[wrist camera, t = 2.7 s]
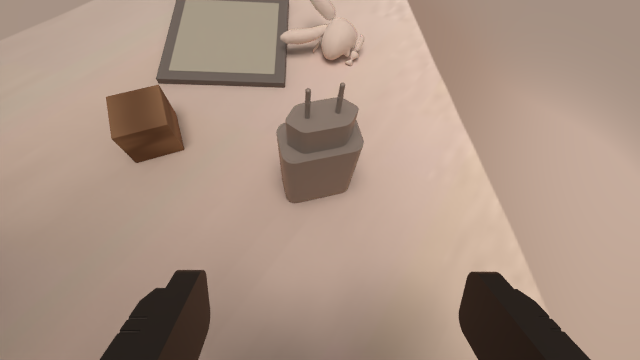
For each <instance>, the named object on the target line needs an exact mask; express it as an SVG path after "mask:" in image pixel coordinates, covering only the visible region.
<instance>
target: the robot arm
mask: <svg viewBox="0 0 640 360" xmlns="http://www.w3.org/2000/svg"><path fill="white" fill-rule="evenodd" d="M459 322H460V327H461V330H462V332H463V334H464V336H465V337H466V339H467V341H468V343H469V344H470V346H471V348H472V350H473V351H474V353H475V355H476V357H477V358H478V360H590V359H589V358H588V357H587V355H586V354H585V353H584V352H583V351H582V350H581V349H580V348H579V347H578V346H577V345H576V344H575V343H574V342H573V341H572V340H571V339H570V337H569V336H568V335H567V334H566V333H565V332H562V331H561V328H560V327H559V326H558V325H557V324H556V323H555V322H554V321H553V320H552V319H550V318H549V315H548V314H547V313H546V312H545V311H544V310H543V309H542V308H541V307H540V306H539V305H538V304H537V303H536V302H535V301H534V300H532V299H531V298H530V297H528V296H527V295H525V294H524V293H522V292H521V291H519V290H518V289H513V287H512V286H511V285H510V284H509V283H508V282H507V281H506V280H505V279H504V277H503V276H502V275H501V274H499V273H498V272H471V273H469V275H468V277H467V280H466V284H465V288H464V293H463V297H462V301H461V305H460V309H459ZM209 324H210V305H209V295H208V286H207V277H206V273H205V271H204V270H177V271H176V272H175V273H174V275H173V277H172V278H171V280H170V282H169V283H168V285H167V286H166V288H156V289H154V290H153V291H152V292H151V293H149V294H148V295H147V296H146V297H144V298H143V299H142V300H140V301H139V303H138V304H137V306H136V307H135V309H134V310H133V312H132V313H131V315H130V316H129V320H126V322H125V323H124V325H123V326H122V328H121V329H120V333H119V334H117V335H116V336H115V338H114V339H113V341H112V342H111V344H110V345H109V347H108V348H107V350H106V351H105V353H104V354H103V356H102V357H101V358H100V360H198V358H199V356H200V353H201V350H202V347H203V344H204V342H205V339H206V336H207V333H208V329H209Z"/></svg>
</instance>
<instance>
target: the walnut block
mask: <svg viewBox="0 0 640 360" xmlns="http://www.w3.org/2000/svg"><path fill="white" fill-rule="evenodd" d="M106 101H107V109H108V116H109V124H110V131H111V138H112V140H113V141H114V142H115V143H116V144H117V145H118V146H120V147H121V148H122V149H123V150H124V151H125V152H126V153H127V154H128V155H129V156H130V157H131V158H132V159H133V160H134V161H135V162H136V163H138V162H142V161H145V160H149V159H153V158H156V157H160V156H164V155H167V154H171V153H175V152H178V151H182V150H184V146H183V142H182V138H181V133H180V129H179V125H178V120H177V116H176V113H175V111H174V110H173V108H172V106H171V105H170V103H169V101H168V100H167V98H166V96H165V94H164V93H163V91H162V89H161V88H160V86H159V85H155V86H151V87H147V88H142V89H138V90H134V91H129V92H125V93H121V94H116V95H112V96H108V97H106Z"/></svg>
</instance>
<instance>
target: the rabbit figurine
mask: <svg viewBox="0 0 640 360" xmlns="http://www.w3.org/2000/svg"><path fill="white" fill-rule="evenodd" d="M310 1H311V3H312V4H313V6H314V7H315V9H316V10H317V11H318V12H319V13H320V14H321V15H322V16H323V17H324V18H325V19H327V20H331V19H332V21H331V23H330V24H329V25H328V26H327V24H324V25H320V26H316V27H312V28H302V29H291V30H288V31H286V32H284V33H283V34H282V35H281V36H280V40H282V41H283V42H285V43H287V44H304V43H308V42H311V41H314V40H316V39H318V38H319V37H320V36H322V35H323V37H322V42H321V48H322V52H323V55H324V56H325V57H326V58H327V59H328V60H334V59H336V58H338V57H340V56H341V55H345V56H346V57H349V56H350V49H351V47H352V48H355V44H356V40H357V35H358V34H357V31H356V29H355V27H354V26H353V25H352V24H351V23H350V22H349V21H348V20H346V19H344V18H334V17H335V8H334V6H333V4H332V3H331V1H330V0H310ZM323 33H324V34H323ZM363 42H364V37H363V35H361V34H360V39H359V42H358V44H357V46H356V48H355V50H356V51H359V50H360V49H361V46H362V44H363ZM319 44H320V41H319V43H318V44H317V45H316V47H315V48H314V49H313V53H314V51H315V50H316V49H317V47H318V46H319ZM355 50H354V51H352V52H351V59H350V60H348V61H346V62H345V63H346V64H348V65H350V66H352V60H354V59H356V58H358V57H359V55H358V53H357V52H356V51H355Z"/></svg>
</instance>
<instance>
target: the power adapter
mask: <svg viewBox="0 0 640 360" xmlns="http://www.w3.org/2000/svg"><path fill="white" fill-rule="evenodd" d="M344 89H345V83H341V84H340V88H339V94H338V97H337V98H330V99H324V100H318V101H313V102H311V101H310V97H311V90H310V89H309V88H307V89H306V95H305V103H301V104H298V105H296V106H294V107H293V109H292V110H291V112H290V113H289V115H288V116H287V118H286V123H283V124H281V125H280V126H279V127H278V129H277V141H278V149H279V157H280V165H281V174H282V181H283V185H284V189H285V194H286V197H287V199H288V200H289V201H290V202H292V203H299V202H304V201H308V200H313V199H317V198H322V197H326V196H331V195H335V194H340V193H343V192H345V191H346V190H347V189H348V186H349V183H350V181H351V178H352V175H353V172H354V169H355V167H356V164H357V161H358V158H359V155H360V152H361V150H362V147H363V143H364V141H363V137H362V135H361V132H360V129H359V126H358V123H357V121H356V117H357V114H358V110H359V109H358V107H357V106H356V105H354V104H352V103H351V102H349V101H347V100H345V99H343V94H344Z"/></svg>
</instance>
